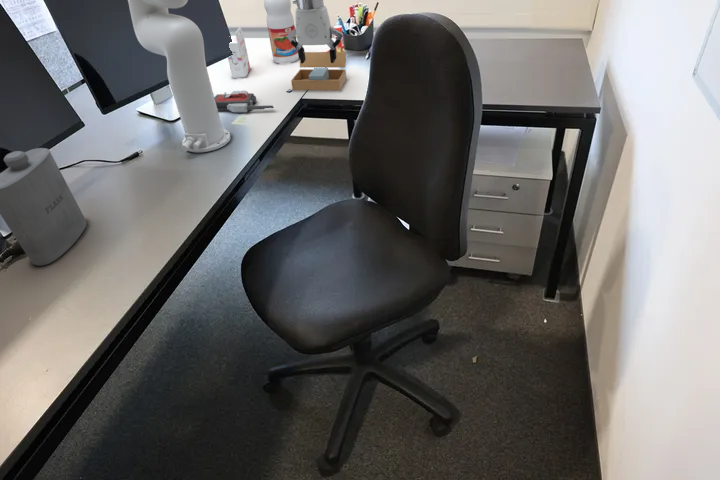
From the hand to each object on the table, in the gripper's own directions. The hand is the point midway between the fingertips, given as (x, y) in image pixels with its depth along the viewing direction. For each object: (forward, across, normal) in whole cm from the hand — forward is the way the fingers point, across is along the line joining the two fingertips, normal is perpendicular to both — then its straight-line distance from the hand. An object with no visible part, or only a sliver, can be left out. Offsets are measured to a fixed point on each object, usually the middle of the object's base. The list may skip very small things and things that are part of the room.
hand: (318, 61), depth 152 cm
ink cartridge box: (+7, -31, +10) cm, 33 cm away
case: (+7, 0, 0) cm, 7 cm away
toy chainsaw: (+7, -19, -18) cm, 28 cm away
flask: (+6, -33, -84) cm, 91 cm away
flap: (+1, 0, +6) cm, 6 cm away
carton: (+7, 0, 0) cm, 7 cm away
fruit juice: (+8, -19, +24) cm, 31 cm away
